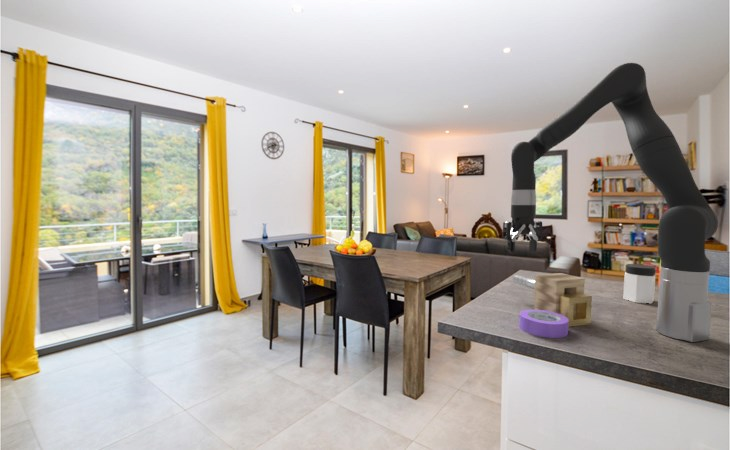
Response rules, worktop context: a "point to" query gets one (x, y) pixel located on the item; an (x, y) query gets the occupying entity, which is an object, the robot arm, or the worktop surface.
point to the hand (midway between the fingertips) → (522, 252)
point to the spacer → (582, 308)
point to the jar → (639, 283)
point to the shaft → (527, 281)
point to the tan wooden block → (555, 290)
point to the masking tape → (543, 323)
